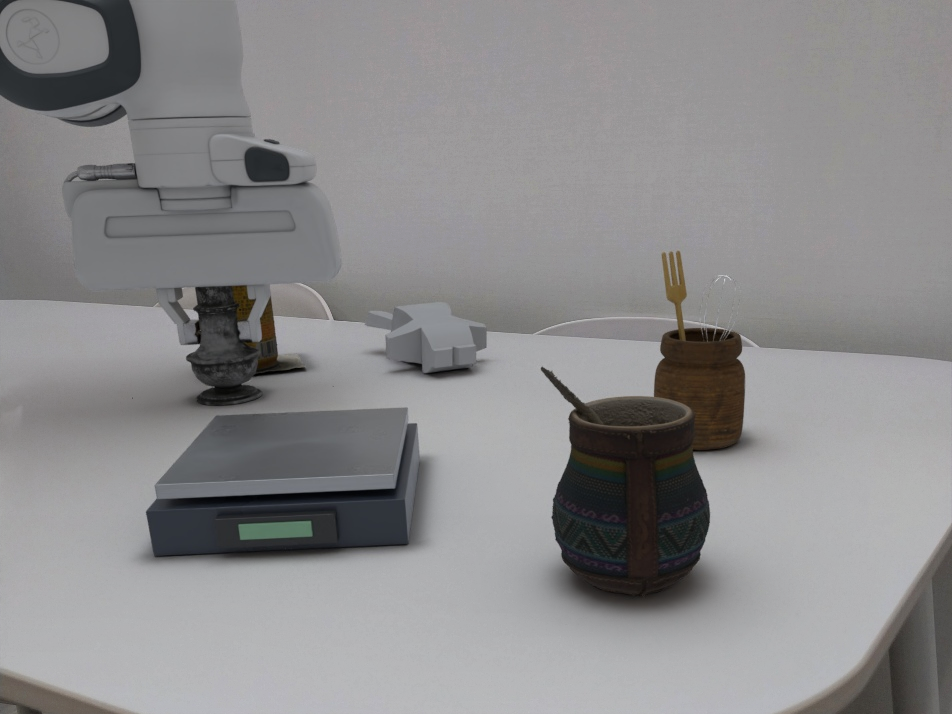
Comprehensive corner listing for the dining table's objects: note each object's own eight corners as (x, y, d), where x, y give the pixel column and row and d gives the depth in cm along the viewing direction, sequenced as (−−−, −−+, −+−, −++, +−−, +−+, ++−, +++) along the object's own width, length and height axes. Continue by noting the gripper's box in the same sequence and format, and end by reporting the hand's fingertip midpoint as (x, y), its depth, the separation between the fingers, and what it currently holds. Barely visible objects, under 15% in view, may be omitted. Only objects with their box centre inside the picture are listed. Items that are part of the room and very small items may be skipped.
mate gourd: (727, 605, 42) (740, 381, 39) (556, 616, 42) (552, 390, 38) (687, 541, 49) (694, 345, 45) (538, 550, 49) (533, 352, 45)
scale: (148, 562, 49) (140, 516, 48) (218, 468, 62) (212, 431, 61) (407, 550, 49) (404, 504, 48) (419, 459, 63) (417, 422, 62)
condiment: (207, 364, 92) (187, 233, 88) (297, 355, 95) (282, 227, 90) (211, 380, 86) (190, 240, 81) (307, 370, 88) (292, 234, 84)
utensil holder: (694, 458, 61) (702, 264, 57) (632, 435, 66) (634, 255, 62) (761, 441, 64) (774, 255, 60) (696, 420, 69) (703, 247, 65)
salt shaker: (177, 400, 79) (152, 250, 75) (233, 385, 84) (213, 242, 79) (224, 409, 76) (201, 252, 72) (280, 392, 81) (262, 244, 76)
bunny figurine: (402, 336, 81) (352, 292, 93) (404, 393, 83) (355, 343, 95) (506, 324, 84) (445, 283, 97) (505, 380, 87) (445, 333, 99)
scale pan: (156, 499, 49) (154, 485, 49) (217, 427, 61) (215, 415, 61) (395, 489, 49) (394, 474, 49) (408, 419, 61) (407, 407, 61)
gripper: (40, 167, 70) (77, 356, 75) (324, 157, 71) (342, 345, 76) (73, 164, 76) (105, 340, 81) (334, 155, 77) (351, 330, 82)
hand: (222, 342), depth 78 cm, fingers closed on salt shaker, 3 cm apart
